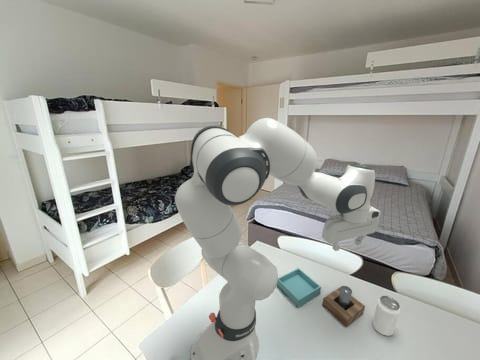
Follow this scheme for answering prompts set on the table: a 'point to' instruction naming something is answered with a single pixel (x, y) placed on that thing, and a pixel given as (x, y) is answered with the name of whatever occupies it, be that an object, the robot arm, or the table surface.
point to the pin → (344, 297)
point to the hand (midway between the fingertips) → (346, 246)
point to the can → (386, 315)
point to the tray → (298, 287)
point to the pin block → (338, 312)
